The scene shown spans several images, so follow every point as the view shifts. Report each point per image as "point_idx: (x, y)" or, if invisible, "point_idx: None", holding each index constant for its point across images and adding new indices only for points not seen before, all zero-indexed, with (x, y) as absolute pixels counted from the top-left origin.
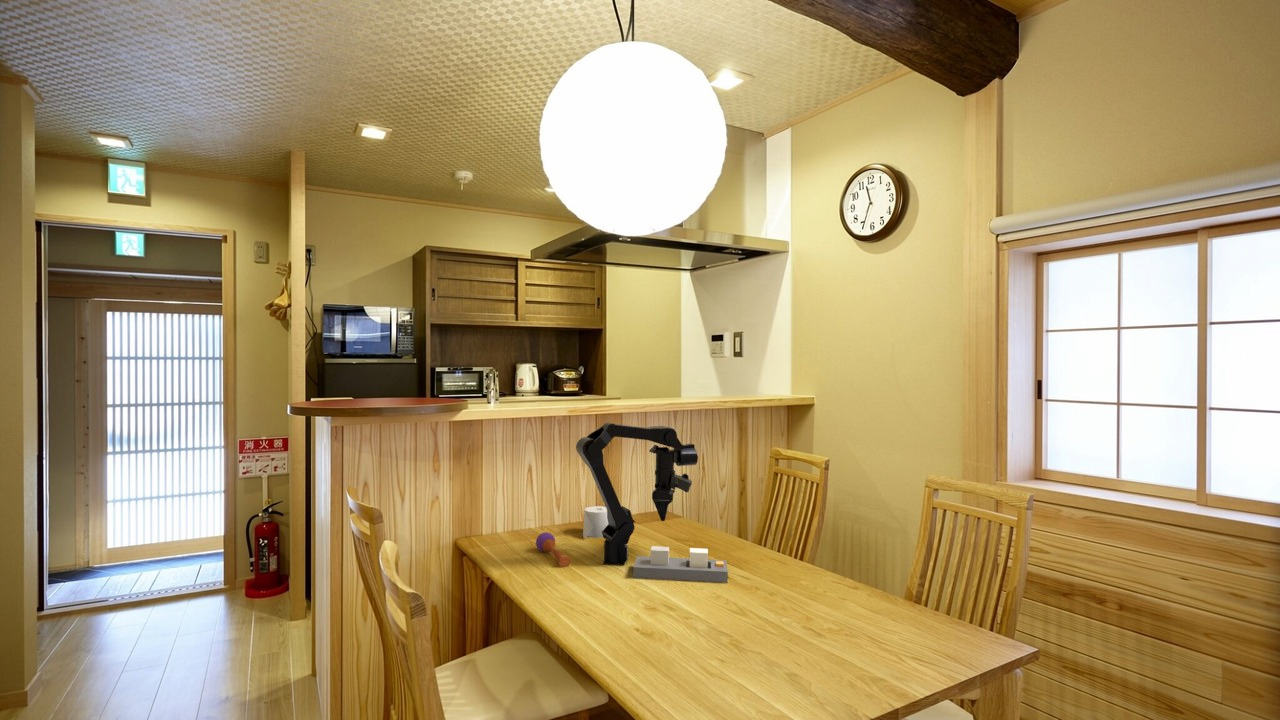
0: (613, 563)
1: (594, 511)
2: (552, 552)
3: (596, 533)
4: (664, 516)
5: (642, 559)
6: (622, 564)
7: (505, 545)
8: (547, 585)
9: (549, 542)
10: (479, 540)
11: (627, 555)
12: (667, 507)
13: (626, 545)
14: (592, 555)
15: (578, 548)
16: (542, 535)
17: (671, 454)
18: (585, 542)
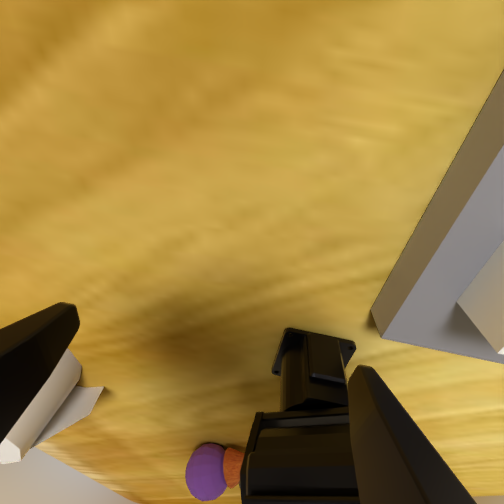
0: (344, 367)
1: (8, 450)
2: None
3: (72, 376)
4: (404, 421)
5: (433, 329)
6: (355, 347)
7: (184, 480)
8: (449, 467)
9: (238, 481)
10: (161, 496)
11: (322, 346)
12: (12, 348)
13: (317, 379)
14: (246, 389)
15: (187, 404)
16: (214, 498)
17: None
18: (133, 388)
